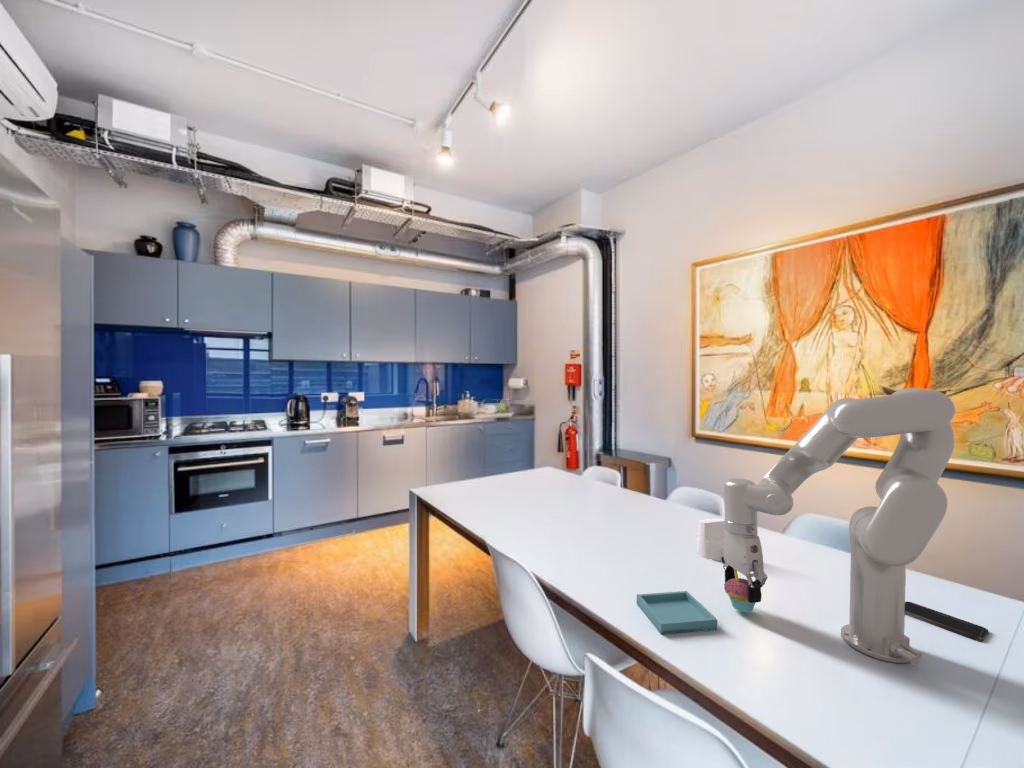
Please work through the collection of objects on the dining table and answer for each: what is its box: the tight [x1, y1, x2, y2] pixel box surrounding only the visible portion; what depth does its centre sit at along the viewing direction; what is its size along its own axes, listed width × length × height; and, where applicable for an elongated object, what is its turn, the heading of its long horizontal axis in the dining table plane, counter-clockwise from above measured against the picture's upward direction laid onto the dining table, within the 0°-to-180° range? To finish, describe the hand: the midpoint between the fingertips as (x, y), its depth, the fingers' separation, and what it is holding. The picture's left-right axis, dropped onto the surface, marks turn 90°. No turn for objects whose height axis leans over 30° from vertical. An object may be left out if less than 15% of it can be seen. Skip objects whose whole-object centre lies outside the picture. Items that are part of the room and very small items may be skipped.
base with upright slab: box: [696, 517, 725, 561], centre depth 144 cm, size 9×9×12 cm
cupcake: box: [723, 569, 762, 613], centre depth 109 cm, size 9×8×12 cm
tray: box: [636, 590, 718, 635], centre depth 107 cm, size 14×15×2 cm
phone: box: [905, 601, 989, 643], centre depth 105 cm, size 8×1×15 cm
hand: (742, 592), depth 109 cm, fingers closed on cupcake, 8 cm apart
